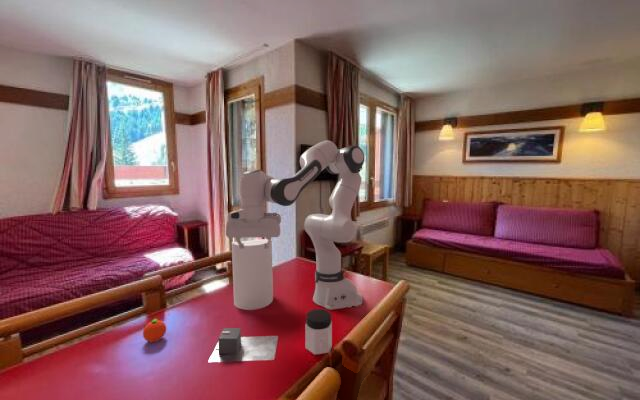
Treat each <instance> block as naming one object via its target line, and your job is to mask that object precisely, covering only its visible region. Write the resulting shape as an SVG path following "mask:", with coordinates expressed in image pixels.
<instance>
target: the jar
mask: <svg viewBox="0 0 640 400" xmlns="http://www.w3.org/2000/svg"><path fill="white" fill-rule="evenodd" d="M305 319H306V320H305V321H306V322H305V325H304V326H305V327H304V329H305V333H304V335H305V337H304V338H305V339H304V340H305V343H304V344H305V347H304V348H305V349H306V350H308V351H309V352H310V353H312V354H313V355H315V356H316V355H321V354H322V355H323V354H327V353H328V354H329V353H330V352H331V350H332V346H333V342H332V341H333V336H332V335H333V321H332V315H331V312H330V311H328V310H327V309H324V308H314V309H311V310H309V311H308V312H307V313H306V316H305Z"/></svg>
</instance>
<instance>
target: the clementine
mask: <svg viewBox="0 0 640 400" xmlns="http://www.w3.org/2000/svg"><path fill="white" fill-rule="evenodd" d="M166 331H167V326H166V323H165V322H164V321H162V320H161V319H160V320H159V319H158V318H154V319H153V320H152V321H150V322H148V323H147V324H146V325H145V327H144V328H143V331H142V336H143V339H144V340H145V341H147V342H149V343H154V342H158V341H160V340H161V339H163V337H164V336H165V335H166Z"/></svg>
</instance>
